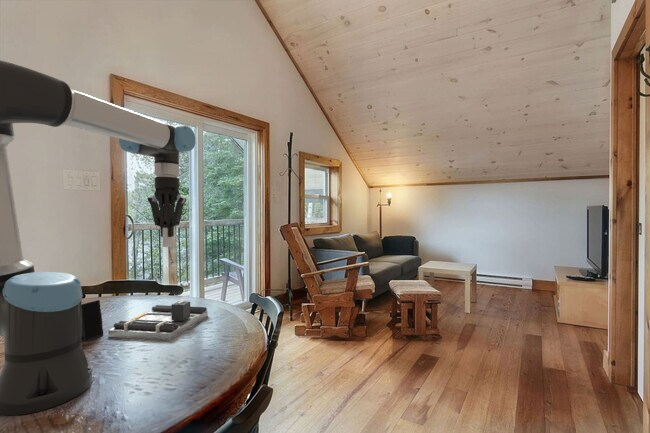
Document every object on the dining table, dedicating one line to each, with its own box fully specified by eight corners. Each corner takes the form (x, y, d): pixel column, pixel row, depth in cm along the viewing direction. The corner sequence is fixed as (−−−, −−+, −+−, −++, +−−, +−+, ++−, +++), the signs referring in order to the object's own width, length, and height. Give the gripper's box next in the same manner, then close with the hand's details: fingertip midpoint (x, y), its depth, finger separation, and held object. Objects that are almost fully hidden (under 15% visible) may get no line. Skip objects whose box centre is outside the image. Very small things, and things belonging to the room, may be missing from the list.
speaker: (108, 335, 95) (104, 299, 96) (84, 342, 91) (80, 304, 91) (99, 331, 100) (96, 297, 100) (76, 338, 96) (73, 302, 96)
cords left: (172, 332, 93) (172, 326, 93) (112, 329, 95) (112, 322, 95) (180, 327, 97) (180, 321, 97) (122, 324, 99) (122, 318, 99)
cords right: (202, 314, 110) (202, 308, 110) (151, 311, 112) (151, 306, 112) (208, 310, 114) (208, 305, 114) (158, 308, 116) (158, 303, 116)
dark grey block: (183, 321, 102) (183, 303, 102) (171, 320, 103) (171, 303, 103) (190, 316, 106) (190, 300, 106) (178, 316, 107) (178, 299, 107)
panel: (169, 340, 92) (169, 332, 92) (108, 337, 94) (108, 329, 94) (207, 316, 114) (207, 309, 114) (157, 313, 116) (157, 307, 116)
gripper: (191, 178, 114) (191, 245, 114) (156, 178, 115) (156, 245, 116) (178, 175, 106) (178, 248, 107) (141, 176, 108) (142, 247, 108)
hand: (167, 246), depth 111 cm, fingers closed
